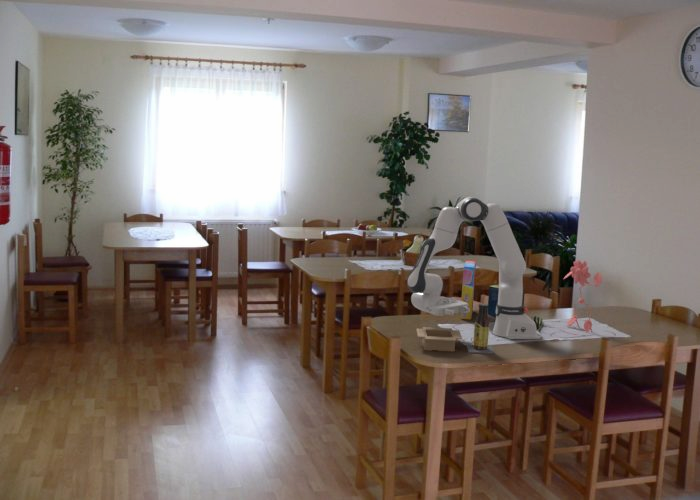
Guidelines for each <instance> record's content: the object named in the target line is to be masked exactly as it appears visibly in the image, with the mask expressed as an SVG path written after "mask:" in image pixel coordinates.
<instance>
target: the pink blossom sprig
mask: <svg viewBox="0 0 700 500" xmlns="http://www.w3.org/2000/svg"><path fill="white" fill-rule="evenodd" d="M570 276H571V277H572V278H573V281H574V284H578V283H579V284H580V285H581V286H579V289H578V290H579V293H580V298H579V299H578V301H576V302H575V303H574V314H575V315H574V316H572V317H571V318H570V319H568V320H569V321H567V325H566V327H567V328H568V327H570V326H572V325H574V323H576V325H577V327H578V328H579V327H580V326H579V321H578V320H577V319H578V315H576V310H577V307H576V306H577V304H578V303H579V304H582V305H583V304H585V305H586V306H587V307H589V308H591V310H590V313H589V317H588V319H587V320H585V322H584V323H583V329H584V331H585V333H589V331H591V333H592V332H593V329H592V327H593V324H592V320H590V318H591V315H592V311H593V307H592V306H590V305H589V304H587V303H586V300H585V298H583V297H582V291H581V288H584V286H587V285H591V286H593V287H595V288H596V287H599V286H600V285H601V283H602V282H603V276H602V274H601V273H599V272H597V273H595V274H594V277H593V282H594V284H593V283H590V282H589V281H588V279H589V278H591V273H590V272H589V267H588V265H587V262H586V260H583V261H581V260H579V259H577V260H575V261H573V266H571V267H570V271H569V272H568V273H567V274H566V275H565V276H564V278H563V280H565V279H567V278H569V277H570ZM558 330H559V331H562V332H563V333H567V334H568V332H566V331H564V330H562V329H560V328H558ZM569 334H570V335H575V336H577V334H576V333H569ZM581 336H584V337H585V336H586V335H583V334H582V335H581Z"/></svg>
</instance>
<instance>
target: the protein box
mask: <svg viewBox="0 0 700 500" xmlns="http://www.w3.org/2000/svg"><path fill="white" fill-rule="evenodd" d="M488 289H489V290H488V299H487V300H488V303H487V304H488V310H487V316H492V317H494V318H496V307H497V303H498V293H499V283H498V284H492V285H489V288H488ZM525 289H526V288H523V293H522V306H524V304H525V294H526V293H525V292H526V291H525ZM524 307H525V306H524Z"/></svg>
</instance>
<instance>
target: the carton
mask: <svg viewBox="0 0 700 500" xmlns="http://www.w3.org/2000/svg"><path fill="white" fill-rule="evenodd" d="M415 330H416V334H417V337H418V338H421V339H422V340H421V341H422V347H423V350H424V351H432V350H438V352H455V348H456V342H457V340H463V336H462V334H461V332H460V330H458V329H453V328H448V327H430V326H427V327H426V326H425V327H424V326H422V328H416V329H415Z"/></svg>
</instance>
